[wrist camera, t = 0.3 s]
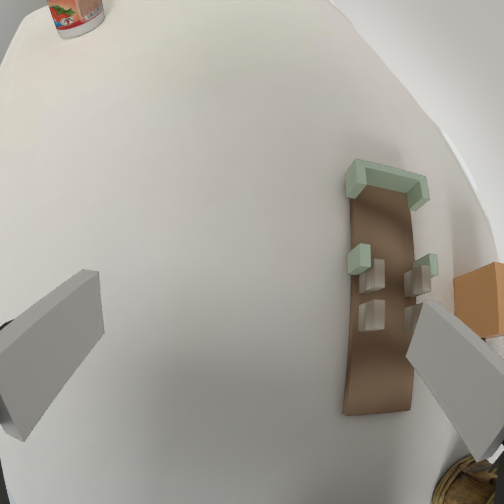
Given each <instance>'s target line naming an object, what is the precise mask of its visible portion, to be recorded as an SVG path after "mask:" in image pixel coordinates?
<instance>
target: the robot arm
mask: <svg viewBox="0 0 504 504" xmlns="http://www.w3.org/2000/svg"><path fill="white" fill-rule="evenodd" d="M104 333H105V332H104V324H103V315H102V305H101V294H100V281H99V272H98V271H91V270H84V269H82V270H81V271H80V272H78V273H77V274H75V275H74V276H72V277H71V278H70V279H68V280H67V281H65V282H64V283H62V284H61V285H60V286H58V287H57V288H56V289H54V290H53V291H51V292H50V293H49V294H47V295H46V296H45V297H43V298H42V299H40V300H39V301H38V302H36V303H35V304H34V305H32V306H31V307H30V308H29V309H27V310H26V311H25V312H23V313H22V314H21V315H19V316H18V317H17V318H16V319H13V320H11V321H9V322H6V323H4V324H3V325H2V326H1V327H0V424H1V425H2V427H3V429H4V431H5V433H7V434H9V435H11V436H13V437H15V438H17V439H19V440H21V441H23V442H25V440H26V439H27V437H28V436H29V434H30V433H31V431H32V430H33V428H34V427H35V426H36V424H37V423H38V421H39V420H40V418H41V417H42V416H43V414H44V413H45V411H46V410H47V408H48V407H49V406H50V404H51V403H52V401H53V400H54V399H55V397H56V396H57V395H58V393H59V392H60V390H61V389H62V388H63V386H64V385H65V384H66V382H67V381H68V380H69V378H70V377H71V376H72V374H73V373H74V372H75V370H76V369H77V368H78V366H79V365H80V364H81V362H82V361H83V360H84V358H85V357H86V356H87V355H88V353H89V352H90V351H91V349H92V348H93V347H94V346H95V344H96V343H97V342H98V341H99V339H100V338H101V337H102V335H103V334H104ZM406 358H407V359H408V360H409V362H410V363H411V364H412V366H413V367H414V369H415V370H416V371H417V373H418V374H419V376H420V377H421V379H422V380H423V381H424V383H425V384H426V386H427V387H428V389H429V390H430V391H431V393H432V394H433V396H434V397H435V399H436V400H437V402H438V403H439V405H440V406H441V408H442V409H443V411H444V412H445V414H446V415H447V417H448V418H449V420H450V421H451V423H452V424H453V426H454V427H455V429H456V430H457V432H458V433H459V435H460V437H461V438H462V440H463V441H464V443H465V444H466V446H467V448H468V449H469V451H470V452H471V454H472V456H473V457H474V459H475V461H476V462H479V461H482V460H484V459H487V458H489V457H492V456H493V454H494V453H495V452H496V450H497V449H498V448H499V446H500V445H501V444H503V445H504V359H503V358H502V357H501V356H500V355H499V354H498V353H497V352H495V351H494V350H493V349H492V348H491V347H490V346H489V345H488V344H487V343H486V342H484V341H483V340H482V339H481V338H480V337H479V336H478V335H477V334H476V333H474V332H473V331H472V330H471V329H470V328H469V327H468V326H466V325H465V324H464V323H463V322H462V321H461V320H460V319H458V318H457V317H456V316H455V315H454V314H453V313H451V312H450V311H449V310H448V309H447V308H445V307H444V306H443V305H442V304H441V303H439V302H438V301H424V303H423V306H422V309H421V313H420V316H419V319H418V322H417V325H416V328H415V331H414V334H413V337H412V340H411V343H410V346H409V349H408V351H407V354H406ZM497 466H499V468H498V469H497V470H496V471H495V473H494V474H495V475H498V476H497V483H496V489H495V495H494V500H493V504H504V451H503V452H502V453H501V455H500V456H499V457H498V459H497V460H496V461H495V462H494V463H493V465H492V466H491V467H490V468H489V471H488V473H491V472H492V471H493V469H494V468H495V467H497ZM0 504H10V502H9V498H8V494H7V490H6V485H5V481H4V476H3V471H2V466H1V460H0Z"/></svg>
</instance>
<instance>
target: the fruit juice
mask: <svg viewBox="0 0 504 504" xmlns="http://www.w3.org/2000/svg"><path fill="white" fill-rule="evenodd" d="M47 2H48V5H49V8H50V11H51V14H52V17H53V20H54V23H55V26H56V29H57V31H58V34H59V35H60V36H61V37H62V38H74V37H77V36H80V35H83V34H85V33H87V32H89V31H91V30H93V29H94V28H96V27H97V26H98V25H100V24H101V23H102V21H103V20H104V16H105V14H104V8H103V4H102V0H47Z"/></svg>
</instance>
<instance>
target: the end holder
mask: <svg viewBox="0 0 504 504" xmlns="http://www.w3.org/2000/svg"><path fill="white" fill-rule="evenodd" d="M345 183H346V197H348V198H354V199H355V198H356V197H357V196H358V195H359V194H360V192H361V191H362V190H363V189H364V187H365V186H366V185H371V186H375V187H380V188H385V189H389V190H394V191H398V192H402V193H406V194H407V202H408V209H409V210H413V211H416V210H418V209H419V208H420V207H421V206H422V205H424V204H425V203H426V202H427V201H429V200H430V196H429V190H428V185H427V179H426V176H423V175H419V174H416V173H412V172H408V171H405V170H401V169H397V168H393V167H389V166H385V165H381V164H377V163H372V162H368V161H364V160H359V159H355V160H354V161H353V163H352V164H351V166H350V167H349V169H348V170H347V172H346V173H345ZM420 265H427V266H430V278H432V277H435V276H437V275H439V274H438V260H437V255H436V254H428V255H426V256H424V257H422V258H420V259H418V260H416V261H415V262H413V269H414V268H416V267H418V266H420ZM370 267H371V248H370V244H363V243H360V244H359V245H357V246H356V247H355V248H354V249H352V250H351V251H350V252H349V253H348V254H347V274H350V275H358V274H360V273H362V272H363V271H365V270H367V269H368V268H370Z"/></svg>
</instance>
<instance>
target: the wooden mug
mask: <svg viewBox="0 0 504 504" xmlns="http://www.w3.org/2000/svg"><path fill="white" fill-rule="evenodd" d="M492 465H493V464H491V463H489V462H488V461H487V460H486V459H484V460H482V461H479V462H476V461H475V459H474V457H473V456H472V454H470V455H468V456H465V457H464V458H463V459H461V460H460V461H458V462H457V463H456V464H455V465H453V466H452V467H451V468H450V469H449V470H448V471H447V472H446V473H445V475H444V476H443V477H442V479H441V480H440V482H439V483H438V485H437V487H436V489H435V491H434V495H433V500H432V504H493V500H494V495H495V489H496V483H497V476H498V475H495V474H494V473H495V471H496V470H497V469H498V468H499V466H497V467H495V468H494V469H493V471H492V472H491V473H488V471H489V468H490V467H491V466H492Z"/></svg>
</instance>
